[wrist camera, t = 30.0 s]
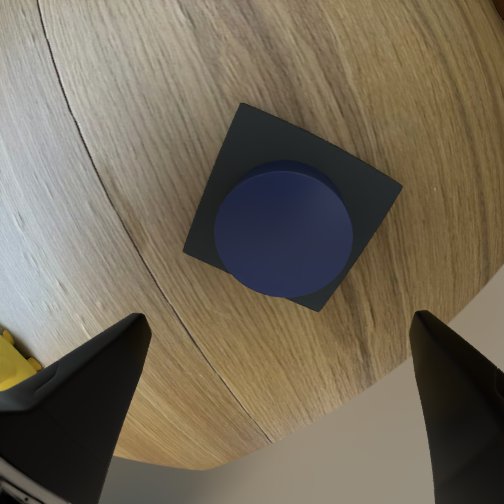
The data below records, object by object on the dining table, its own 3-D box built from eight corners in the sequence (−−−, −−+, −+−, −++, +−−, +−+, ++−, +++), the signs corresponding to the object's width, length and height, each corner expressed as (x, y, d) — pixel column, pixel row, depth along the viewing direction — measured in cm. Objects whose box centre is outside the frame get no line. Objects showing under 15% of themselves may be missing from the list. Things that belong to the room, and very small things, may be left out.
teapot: (-7, 343, 36) (-41, 385, 25) (-4, 296, 28) (-58, 352, 17) (43, 392, 40) (13, 438, 29) (63, 365, 31) (18, 433, 20)
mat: (400, 184, 15) (403, 187, 15) (318, 307, 20) (318, 313, 19) (242, 102, 14) (240, 102, 14) (185, 247, 19) (181, 252, 19)
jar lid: (210, 243, 18) (196, 266, 16) (251, 139, 15) (241, 146, 12) (311, 286, 18) (312, 314, 16) (366, 193, 15) (378, 211, 13)
